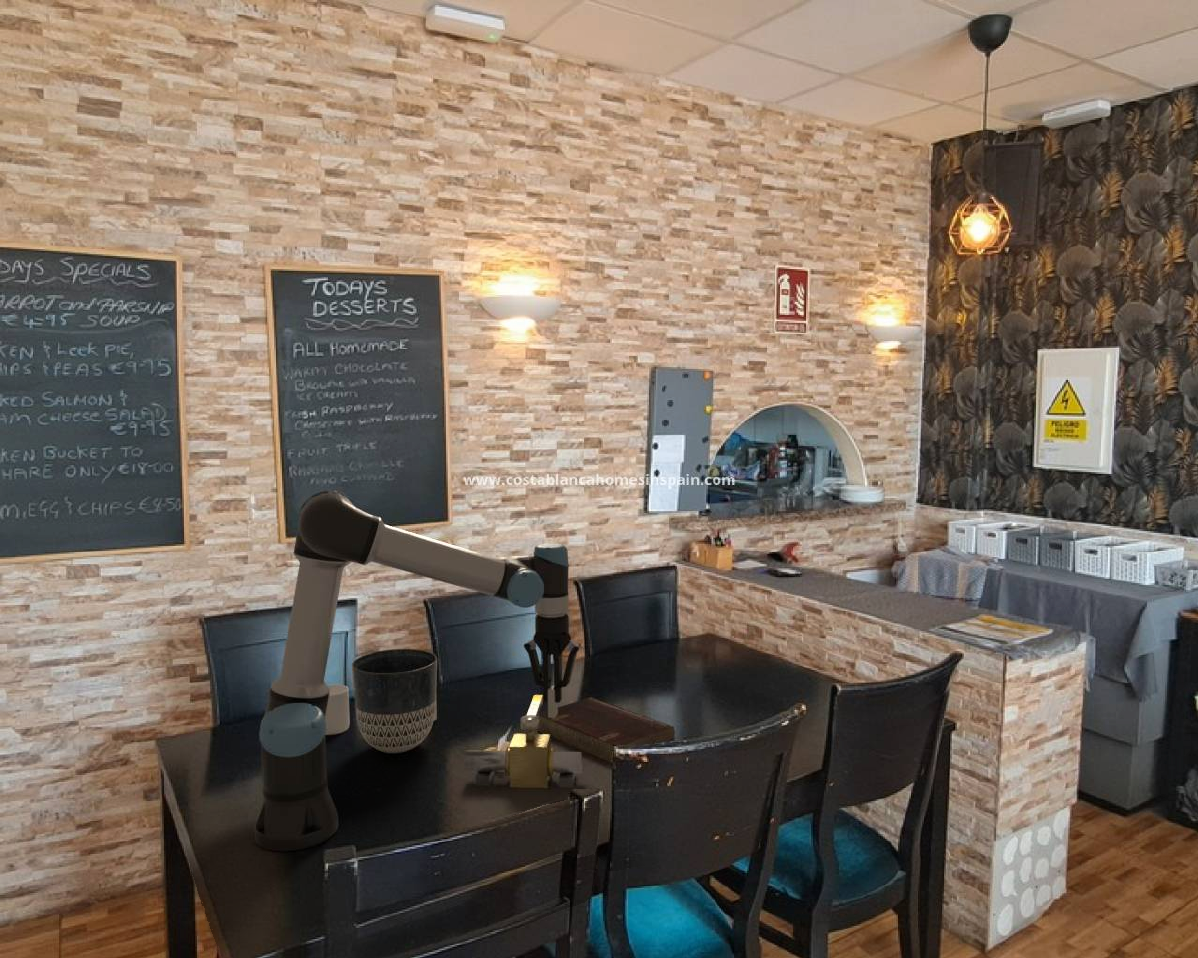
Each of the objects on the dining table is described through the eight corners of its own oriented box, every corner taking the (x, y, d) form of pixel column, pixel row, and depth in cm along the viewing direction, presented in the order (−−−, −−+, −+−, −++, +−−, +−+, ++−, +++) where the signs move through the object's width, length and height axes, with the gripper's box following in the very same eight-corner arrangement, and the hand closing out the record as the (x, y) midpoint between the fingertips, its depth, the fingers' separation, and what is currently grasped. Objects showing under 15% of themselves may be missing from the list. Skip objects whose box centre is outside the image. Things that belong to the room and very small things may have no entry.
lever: (538, 730, 184) (538, 721, 184) (519, 730, 184) (519, 721, 184) (546, 703, 201) (546, 694, 201) (529, 702, 201) (529, 694, 201)
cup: (321, 737, 212) (319, 697, 211) (306, 723, 221) (305, 684, 221) (354, 730, 216) (353, 691, 215) (338, 716, 226) (337, 678, 225)
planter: (339, 748, 205) (336, 660, 203) (410, 726, 219) (408, 644, 217) (382, 773, 191) (379, 679, 189) (455, 748, 205) (453, 660, 203)
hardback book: (674, 744, 207) (674, 724, 207) (619, 768, 194) (619, 746, 194) (592, 713, 228) (592, 695, 228) (537, 732, 215) (537, 713, 215)
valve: (580, 788, 183) (579, 735, 182) (463, 786, 184) (462, 734, 183) (582, 774, 190) (582, 723, 189) (470, 772, 191) (469, 721, 190)
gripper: (584, 610, 195) (584, 711, 197) (529, 607, 198) (530, 707, 200) (575, 618, 188) (576, 723, 190) (518, 615, 190) (520, 719, 193)
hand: (552, 715), depth 195 cm, fingers closed
